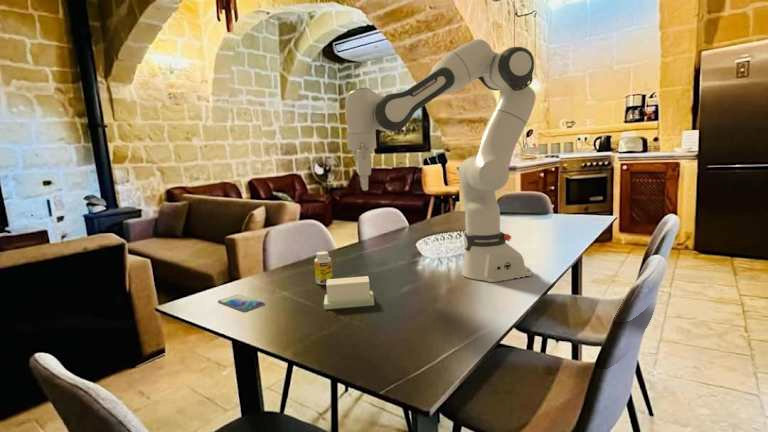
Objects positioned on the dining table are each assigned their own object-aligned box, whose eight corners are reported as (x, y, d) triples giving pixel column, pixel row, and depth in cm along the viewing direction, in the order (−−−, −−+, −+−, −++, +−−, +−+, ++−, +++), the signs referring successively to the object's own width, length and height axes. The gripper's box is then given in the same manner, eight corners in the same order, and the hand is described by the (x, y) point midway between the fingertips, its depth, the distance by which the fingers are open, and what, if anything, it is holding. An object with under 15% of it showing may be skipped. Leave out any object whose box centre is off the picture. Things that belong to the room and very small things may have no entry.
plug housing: (369, 292, 124) (368, 276, 123) (370, 298, 119) (369, 281, 119) (328, 295, 123) (326, 279, 122) (327, 302, 118) (326, 285, 118)
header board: (372, 295, 126) (371, 279, 125) (374, 305, 118) (373, 288, 118) (325, 299, 125) (324, 283, 124) (324, 309, 117) (322, 292, 116)
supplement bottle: (320, 286, 138) (317, 255, 136) (313, 282, 142) (310, 252, 141) (335, 282, 141) (333, 252, 139) (328, 278, 145) (326, 249, 144)
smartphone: (238, 294, 133) (266, 303, 124) (238, 296, 133) (266, 306, 124) (216, 300, 128) (244, 310, 118) (217, 303, 128) (244, 313, 118)
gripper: (374, 142, 119) (377, 191, 121) (370, 143, 139) (372, 185, 141) (352, 143, 118) (355, 192, 121) (350, 144, 139) (353, 186, 141)
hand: (364, 188), depth 131 cm, fingers open, 8 cm apart
